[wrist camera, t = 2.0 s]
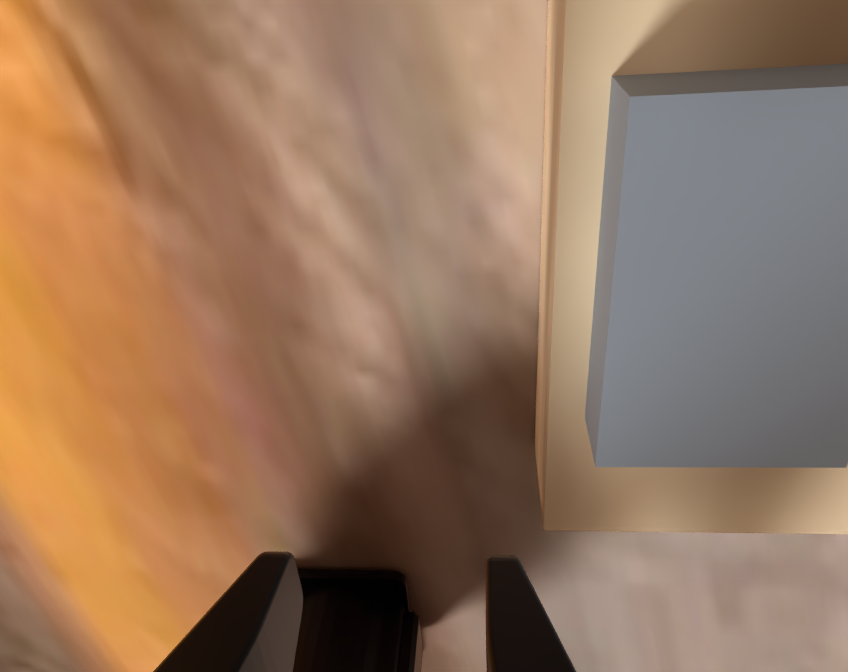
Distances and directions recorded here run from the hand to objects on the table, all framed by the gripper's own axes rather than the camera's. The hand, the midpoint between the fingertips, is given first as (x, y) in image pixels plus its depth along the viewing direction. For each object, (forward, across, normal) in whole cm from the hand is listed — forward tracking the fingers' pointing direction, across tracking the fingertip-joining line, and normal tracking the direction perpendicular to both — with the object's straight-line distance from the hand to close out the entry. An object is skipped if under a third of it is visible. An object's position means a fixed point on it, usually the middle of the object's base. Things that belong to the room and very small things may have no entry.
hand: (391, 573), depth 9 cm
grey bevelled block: (+9, -7, 0) cm, 11 cm away
